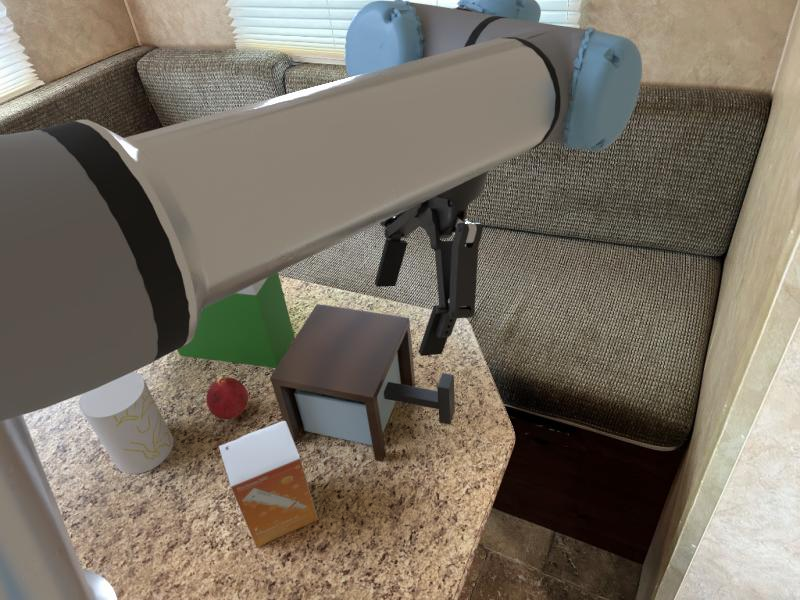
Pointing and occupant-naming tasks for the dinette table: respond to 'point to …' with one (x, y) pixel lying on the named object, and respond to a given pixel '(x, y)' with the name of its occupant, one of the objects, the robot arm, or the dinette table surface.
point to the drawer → (351, 415)
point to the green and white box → (245, 327)
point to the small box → (269, 482)
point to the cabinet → (344, 363)
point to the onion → (227, 398)
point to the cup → (128, 423)
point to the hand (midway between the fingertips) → (405, 317)
